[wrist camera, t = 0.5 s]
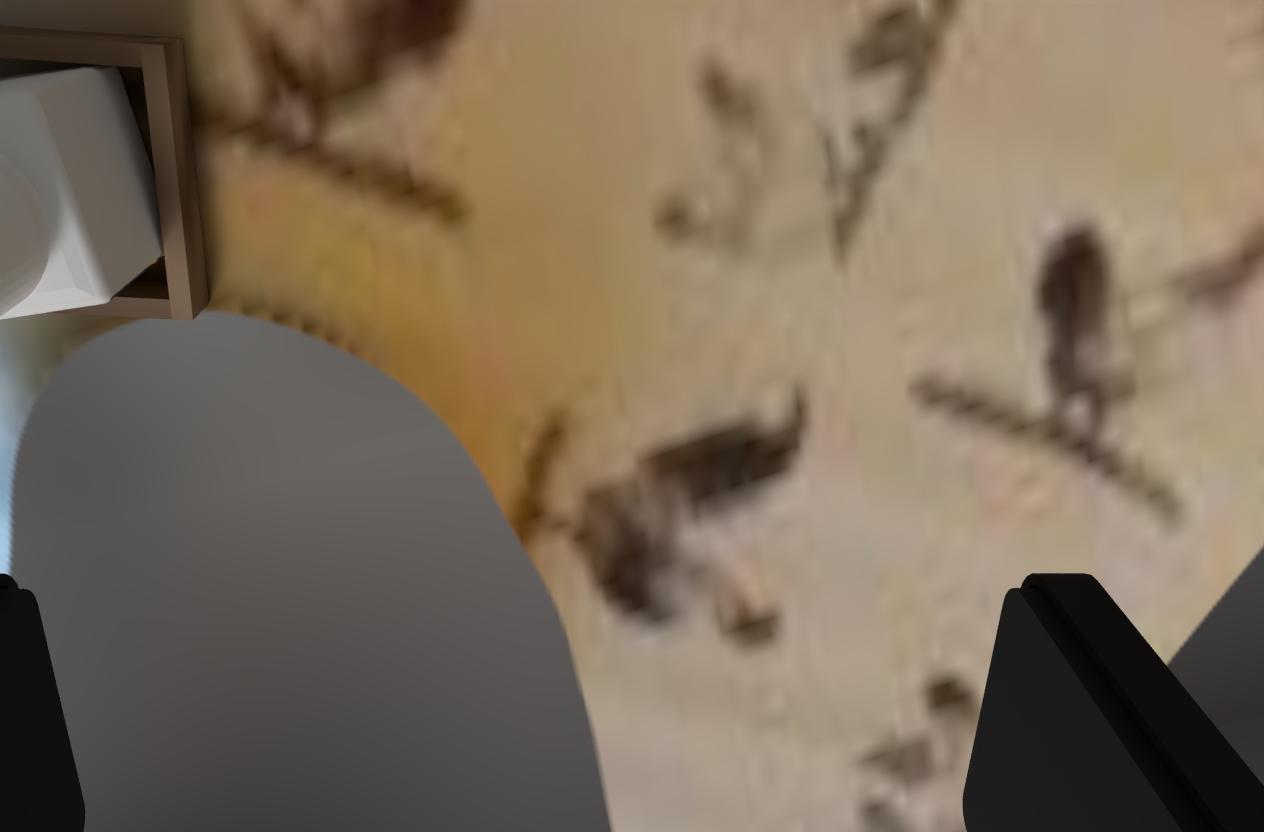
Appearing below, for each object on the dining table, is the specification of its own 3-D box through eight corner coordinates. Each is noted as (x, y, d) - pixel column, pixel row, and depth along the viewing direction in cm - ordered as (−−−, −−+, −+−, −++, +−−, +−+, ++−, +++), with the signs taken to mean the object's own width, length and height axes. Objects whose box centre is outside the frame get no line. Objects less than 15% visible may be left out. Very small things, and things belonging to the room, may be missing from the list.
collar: (-110, 18, 38) (-144, 23, 37) (182, 39, 39) (163, 45, 37) (-53, 289, 43) (-82, 306, 41) (208, 303, 43) (193, 320, 42)
